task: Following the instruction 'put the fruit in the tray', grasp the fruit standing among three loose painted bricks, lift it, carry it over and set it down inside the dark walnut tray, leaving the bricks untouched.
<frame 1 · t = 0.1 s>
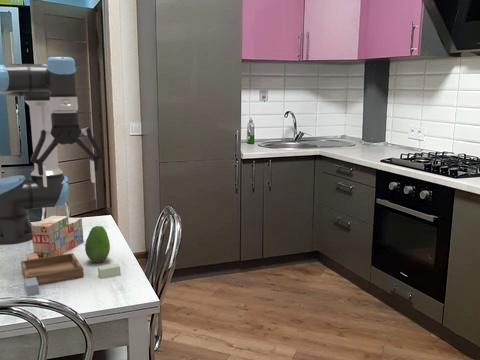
hand: (69, 184, 146), 28 cm above the table, fingers open, 13 cm apart
stack of blocks: (60, 251, 173), on the table
terracotta brick: (33, 264, 160), on the table
fruit: (98, 262, 162), on the table
slate brick: (32, 291, 138), on the table
tray: (52, 273, 151), on the table
sage brick: (109, 275, 150), on the table
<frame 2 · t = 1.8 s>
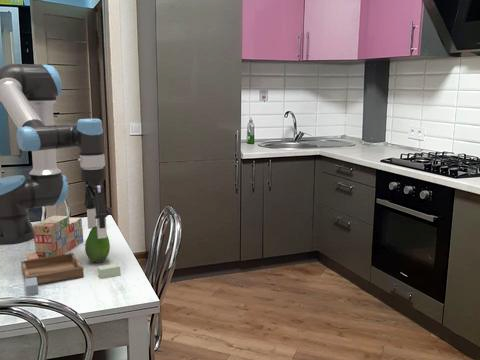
hand: (97, 232, 160), 10 cm above the table, fingers open, 13 cm apart
nothing on the table moved.
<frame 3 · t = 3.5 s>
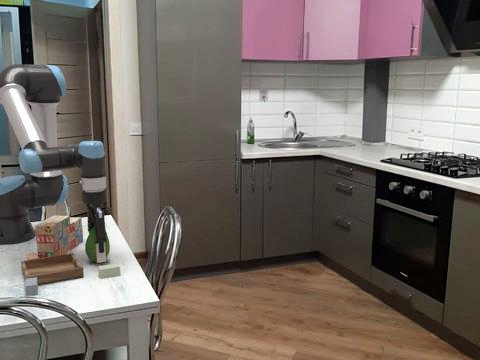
hand: (98, 257, 161), 1 cm above the table, fingers closed on fruit, 8 cm apart
fruit: (98, 262, 162), on the table, touching gripper
everything else where it was.
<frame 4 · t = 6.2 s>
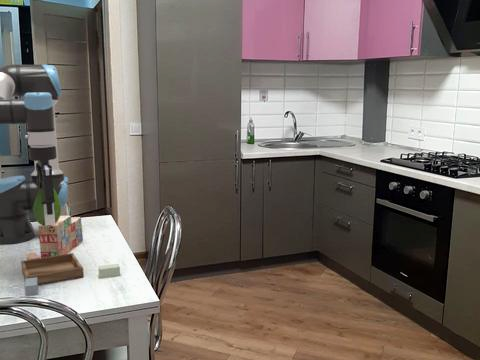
hand: (48, 221, 148), 17 cm above the table, fingers closed on fruit, 8 cm apart
fruit: (48, 226, 148), point 15 cm above the table, touching gripper
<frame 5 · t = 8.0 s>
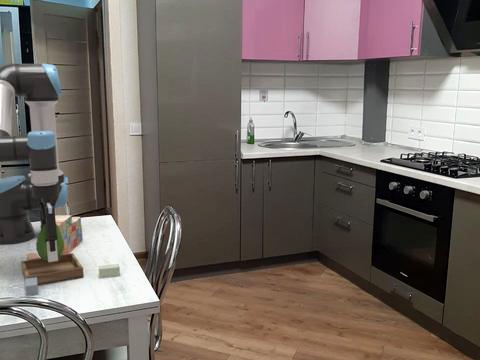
hand: (50, 256, 150), 5 cm above the table, fingers closed on fruit, 8 cm apart
fruit: (51, 261, 150), point 4 cm above the table, touching gripper
when the fingers open (4 cm above the table, at t = 9.2 s): fruit drops 2 cm, resting on tray.
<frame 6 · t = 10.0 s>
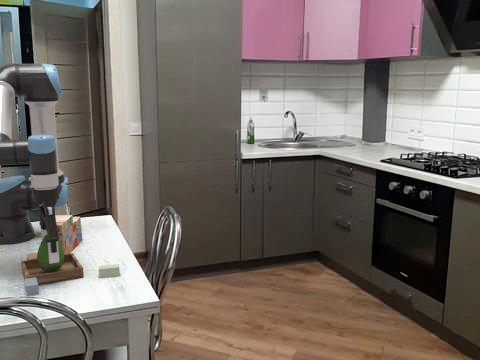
hand: (50, 256, 150), 6 cm above the table, fingers open, 13 cm apart
fruit: (51, 272, 151), resting on tray
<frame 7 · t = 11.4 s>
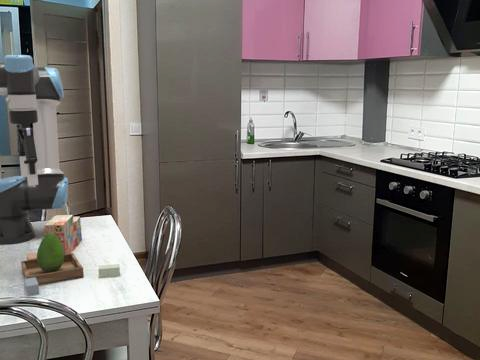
hand: (29, 180, 148), 29 cm above the table, fingers open, 13 cm apart
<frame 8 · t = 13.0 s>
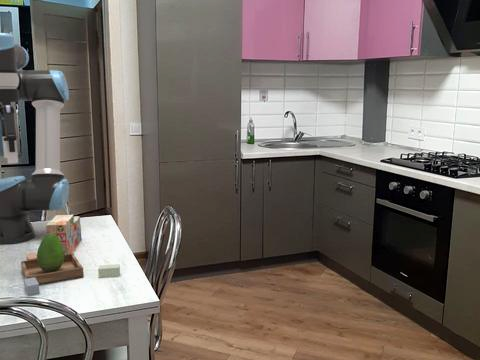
hand: (11, 160, 148), 35 cm above the table, fingers open, 13 cm apart
at the end: fruit inside the target area on the tray (0.3 cm from its centre), point 0.4 cm above the tray's base; terracotta brick moved 0.3 cm from its start; slate brick moved 0.2 cm from its start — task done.
